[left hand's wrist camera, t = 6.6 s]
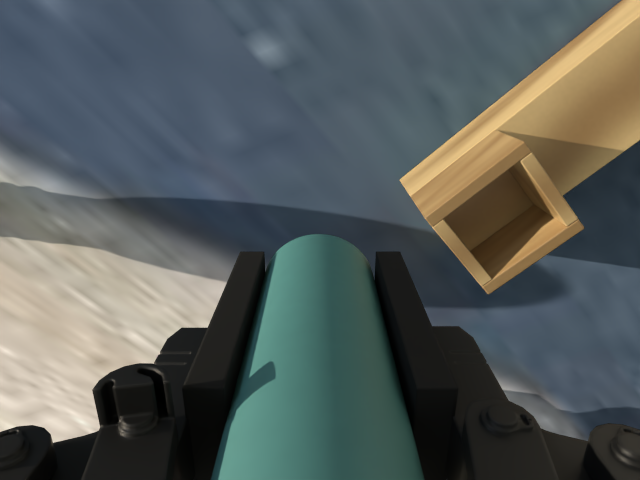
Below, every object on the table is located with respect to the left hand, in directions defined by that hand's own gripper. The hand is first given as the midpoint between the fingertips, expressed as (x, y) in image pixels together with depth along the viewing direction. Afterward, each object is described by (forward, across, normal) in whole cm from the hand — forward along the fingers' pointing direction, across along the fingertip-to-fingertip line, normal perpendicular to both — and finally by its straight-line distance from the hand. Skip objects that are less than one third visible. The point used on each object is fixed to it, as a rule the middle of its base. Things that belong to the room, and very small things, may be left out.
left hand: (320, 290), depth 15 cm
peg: (0, 0, 0) cm, 0 cm away
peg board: (+17, +16, +5) cm, 24 cm away
